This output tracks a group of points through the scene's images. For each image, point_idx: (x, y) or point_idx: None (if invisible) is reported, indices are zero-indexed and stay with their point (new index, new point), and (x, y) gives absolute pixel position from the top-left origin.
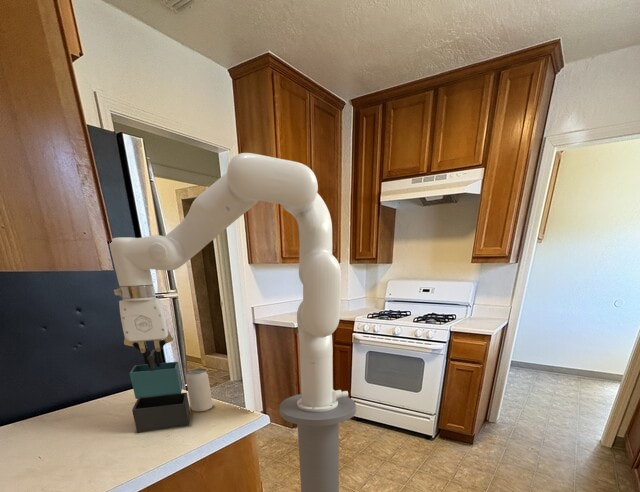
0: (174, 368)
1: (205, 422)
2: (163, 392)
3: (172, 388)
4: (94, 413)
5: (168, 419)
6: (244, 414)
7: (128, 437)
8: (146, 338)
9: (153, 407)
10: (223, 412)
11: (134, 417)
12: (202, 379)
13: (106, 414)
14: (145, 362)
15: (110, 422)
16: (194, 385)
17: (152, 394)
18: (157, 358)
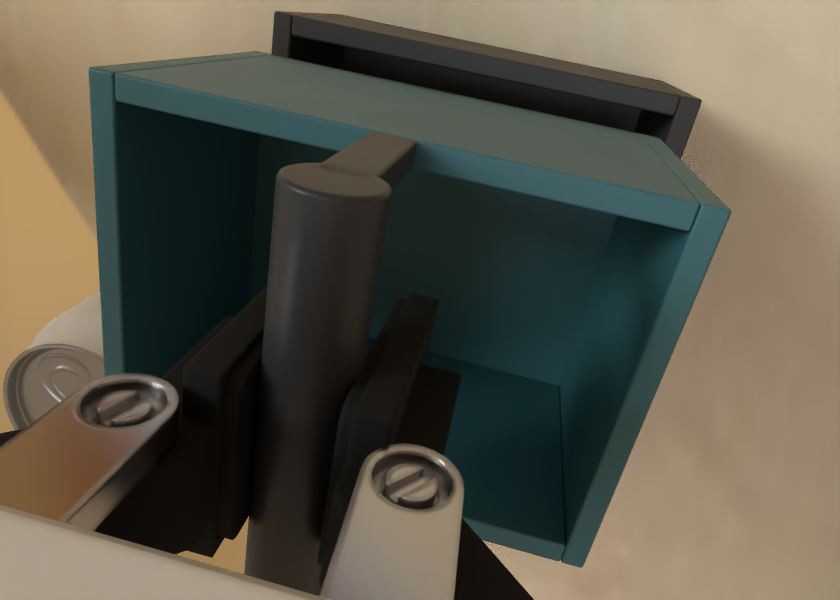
0: (113, 92)
1: (238, 23)
2: (396, 84)
3: (297, 70)
4: (822, 560)
5: (446, 40)
6: (4, 26)
7: (733, 32)
8: (76, 576)
9: (525, 69)
10: None
11: (681, 91)
12: (72, 309)
13: (765, 507)
14: (453, 375)
15: (775, 369)
16: None
17: (500, 108)
18: (248, 309)
